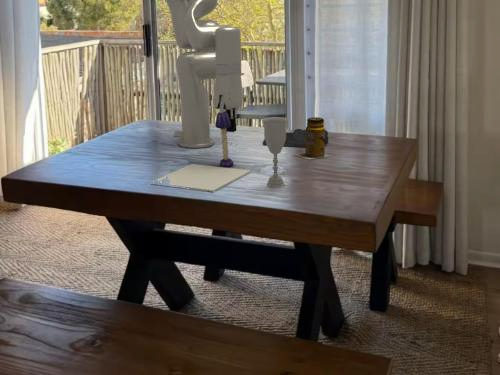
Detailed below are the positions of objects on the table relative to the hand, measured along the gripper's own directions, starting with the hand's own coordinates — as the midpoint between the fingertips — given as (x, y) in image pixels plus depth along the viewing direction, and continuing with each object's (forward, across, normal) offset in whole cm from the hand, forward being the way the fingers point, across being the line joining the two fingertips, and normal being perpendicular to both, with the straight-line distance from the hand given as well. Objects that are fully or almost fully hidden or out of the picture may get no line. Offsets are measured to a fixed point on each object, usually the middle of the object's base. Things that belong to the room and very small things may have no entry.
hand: (230, 131), depth 202 cm
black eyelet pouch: (+11, -36, +7) cm, 38 cm away
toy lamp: (+10, +2, 0) cm, 10 cm away
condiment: (+11, -20, +19) cm, 29 cm away
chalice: (+11, +16, +22) cm, 29 cm away
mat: (+10, +17, 0) cm, 20 cm away
